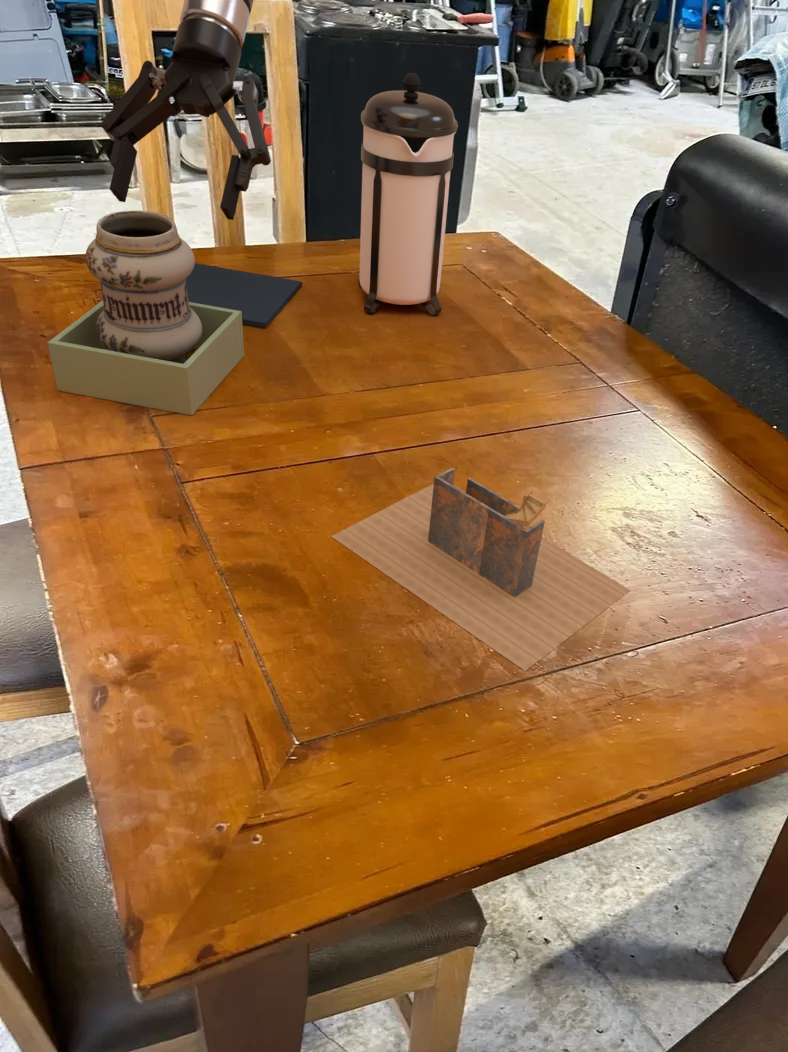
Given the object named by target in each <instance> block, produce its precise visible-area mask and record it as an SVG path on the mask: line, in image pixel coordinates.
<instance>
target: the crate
mask: <svg viewBox="0 0 788 1052" xmlns="http://www.w3.org/2000/svg"><path fill="white" fill-rule="evenodd" d="M189 307H190V308H191V309H192V310H193V311H194V312H195V313H196V314H197V315H198V317H199V319H200V321H201V324H202V335H201V338H200V340H199V342H198V343H197V344H196V346H195V347H194V348H193V349H192V350H195V352H194V353H193V354H191V355H190V357H189V358H188V360H187V361H186V362H185V363H184V364H181V363H175V362H170V361H164V360H159V359H153V358H148V357H142V356H137V355H131V354H126V353H120V352H115V351H110V350H109V349H107V348H106V347H105V346H104V345H103V344H102V343H101V342H100V340H99V338H98V336H97V333H96V323H97V320H98V317H99V315H100V314H101V312H102V311H103V310H104V303H103V299H101V301H99V302H98V303H97V304H95V306H93V307H92V308H90V309H89V310H88V311H87V312H85V313H84V314H83V315H82V316H80V317H79V318H77V319H76V320H75V321H74V322H72V323H71V324H69V325H68V326H67V327H65V329H63V330H62V331H60V332H59V333H58V334H57V335H55V336H54V337H53V338H51V339H50V340H49V341H47V348H48V353H49V357H50V362H51V366H52V372H53V375H54V380H55V386H56V390H57V391H58V392H63V393H70V394H74V395H80V396H86V397H90V398H95V399H101V400H106V401H111V402H118V403H123V404H127V405H133V406H139V407H144V408H149V409H155V410H160V411H164V412H165V411H166V412H171V413H176V414H180V415H181V414H182V415H187V416H193V415H194V414H195V413H196V412H197V411H198V410H199V408H200V407H202V405H203V404H204V402H206V400H207V399H208V398H209V397H210V396H211V394H212V393H213V392H214V391H215V390H216V389H217V387H218V386H219V385H221V383H222V382H223V381H224V379H225V378H226V377H228V375H229V374H230V373H231V372H232V370H233V369H234V368H235V367H236V366H237V364H239V362H240V361H241V360H242V358H244V356H245V349H244V347H245V346H244V331H243V329H244V328H243V324H242V312H241V311H237V310H232V309H226V308H220V307H215V306H209V305H203V304H197V303H192V302H189Z"/></svg>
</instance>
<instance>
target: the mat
mask: <svg viewBox="0 0 788 1052" xmlns="http://www.w3.org/2000/svg"><path fill="white" fill-rule="evenodd" d="M186 287H187V294H188V301H189V302H192V303H197V304H203V305H209V306H215V307H220V308H226V309H232V310H237V311H241V312H242V325H244V326H250V327H255V328H262V329H266V328H267V327H268V326H269V325H270V324H271V322H272V321H273V320H274V319H275V318H276V317H277V316H278V314H280V313H281V311H283V309H284V307H286V305H288V303H289V302H290V301H291V300H292V299H293V297H294V296H295V295H296V294H297V293H298V292H299V290H300V289H301V288H302V287H303V281H302V280H295V279H291V278H285V277H280V276H279V277H278V276H273V275H267V274H260V273H256V272H250V271H243V270H239V269H232V268H226V267H222V266H216V265H215V266H214V265H209V264H203V263H197V262H195V264H194V268H193V270H192V272H191V274H190V275H189V276H188V277H187V278H186Z"/></svg>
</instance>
